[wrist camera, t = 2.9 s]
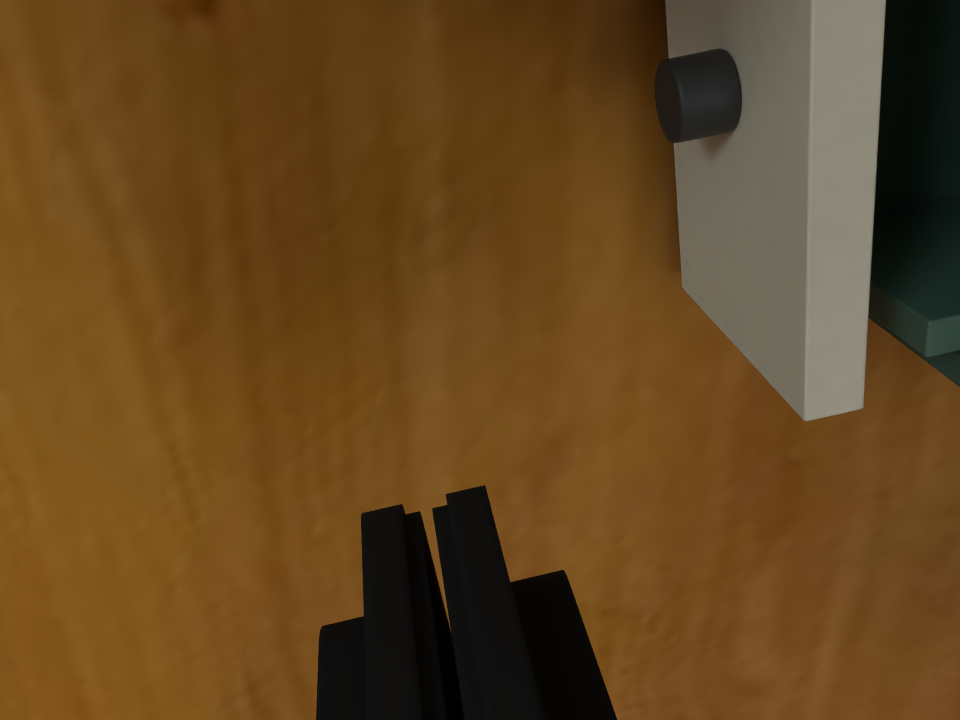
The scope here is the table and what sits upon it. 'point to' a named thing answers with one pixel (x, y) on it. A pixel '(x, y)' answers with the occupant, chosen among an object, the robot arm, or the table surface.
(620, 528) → the table surface
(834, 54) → the drawer
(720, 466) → the table surface
